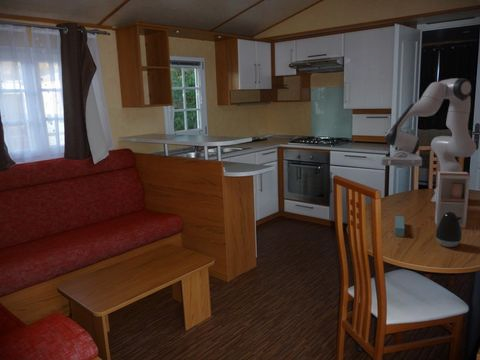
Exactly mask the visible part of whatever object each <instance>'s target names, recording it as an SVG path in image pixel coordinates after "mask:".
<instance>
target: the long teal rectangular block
mask: <svg viewBox="0 0 480 360" xmlns="http://www.w3.org/2000/svg"><path fill="white" fill-rule="evenodd" d="M394 217H395V220H394V237H401V238H404V237H405V228H406V227H405V216H402V215H395V216H394Z"/></svg>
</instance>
